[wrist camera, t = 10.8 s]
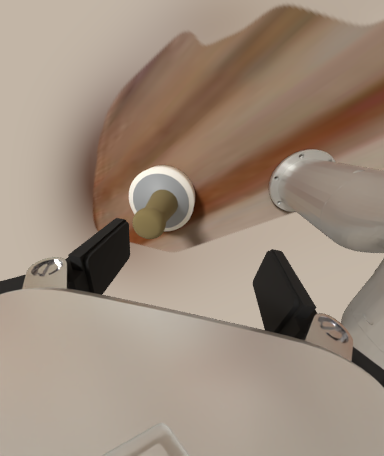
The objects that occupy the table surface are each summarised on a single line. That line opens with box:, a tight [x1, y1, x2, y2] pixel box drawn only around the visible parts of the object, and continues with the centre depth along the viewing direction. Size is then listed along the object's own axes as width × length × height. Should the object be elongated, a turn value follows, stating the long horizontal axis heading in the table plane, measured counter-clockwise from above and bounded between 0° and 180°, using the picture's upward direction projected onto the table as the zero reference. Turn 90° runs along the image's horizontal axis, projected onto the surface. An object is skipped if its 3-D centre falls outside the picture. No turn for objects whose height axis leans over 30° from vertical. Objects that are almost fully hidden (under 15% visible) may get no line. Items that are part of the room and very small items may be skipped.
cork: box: [132, 189, 178, 239], centre depth 29 cm, size 6×6×11 cm
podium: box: [129, 165, 195, 231], centre depth 36 cm, size 14×14×5 cm
